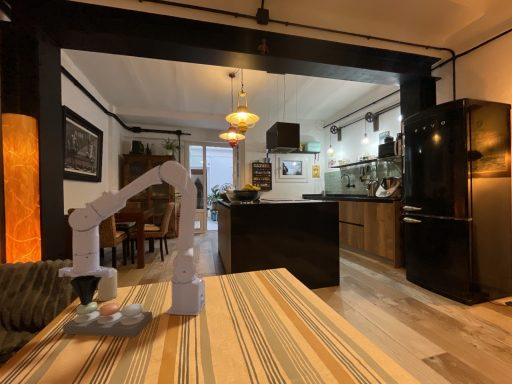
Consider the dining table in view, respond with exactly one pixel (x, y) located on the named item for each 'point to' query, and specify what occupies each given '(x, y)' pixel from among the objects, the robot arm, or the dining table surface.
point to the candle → (107, 288)
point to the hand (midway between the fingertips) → (86, 303)
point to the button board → (108, 324)
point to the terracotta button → (109, 309)
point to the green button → (86, 308)
